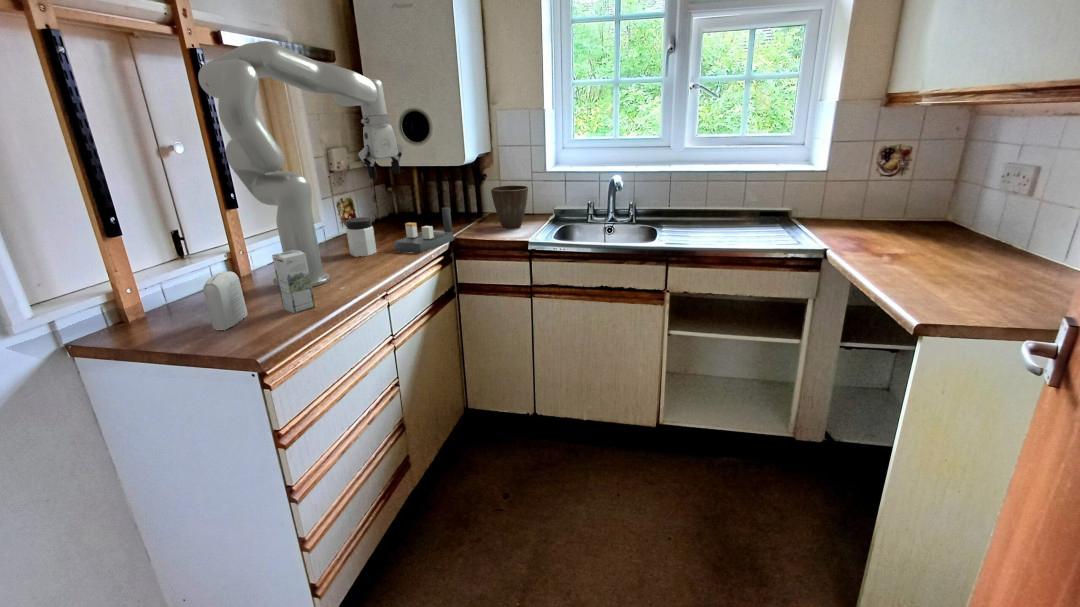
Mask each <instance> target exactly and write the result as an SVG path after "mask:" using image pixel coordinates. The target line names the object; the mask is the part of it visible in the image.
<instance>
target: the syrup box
mask: <svg viewBox="0 0 1080 607" xmlns="http://www.w3.org/2000/svg"><path fill="white" fill-rule="evenodd" d="M272 261H273V266H274V271H275V276H276V277H275V278H277V281H278V285H277V286H278V290H279V294H280V299H281V300H280V301H281V304H282V307H283V310H285V311H287V312H289V313H293V314H297V313H301V312H304V311H306V310H310V309H313V308H315V307H316V303H315V298H314V292H313V287H312V286H311V281H310V276H309V270H308V265H307V260H306V254H305V253H303V252H301V251H298V250H292V251H287V252H283V251H282V252H280V253H275V254H272Z"/></svg>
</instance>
